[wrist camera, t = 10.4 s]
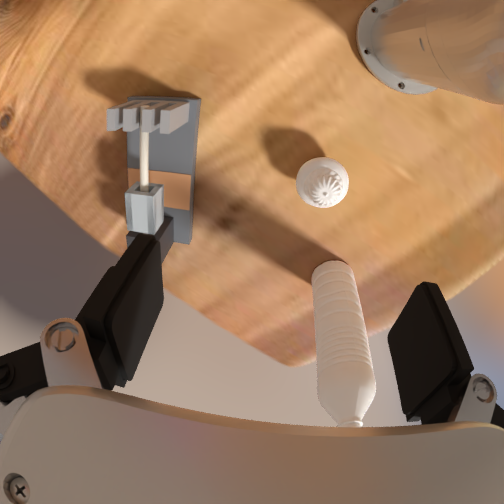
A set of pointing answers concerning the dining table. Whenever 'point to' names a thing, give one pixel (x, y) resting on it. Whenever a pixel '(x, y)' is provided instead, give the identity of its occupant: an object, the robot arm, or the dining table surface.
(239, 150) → the dining table surface
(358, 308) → the water bottle
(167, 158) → the board
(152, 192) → the sleeve
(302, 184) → the white rounded ridged piece
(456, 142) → the dining table surface
